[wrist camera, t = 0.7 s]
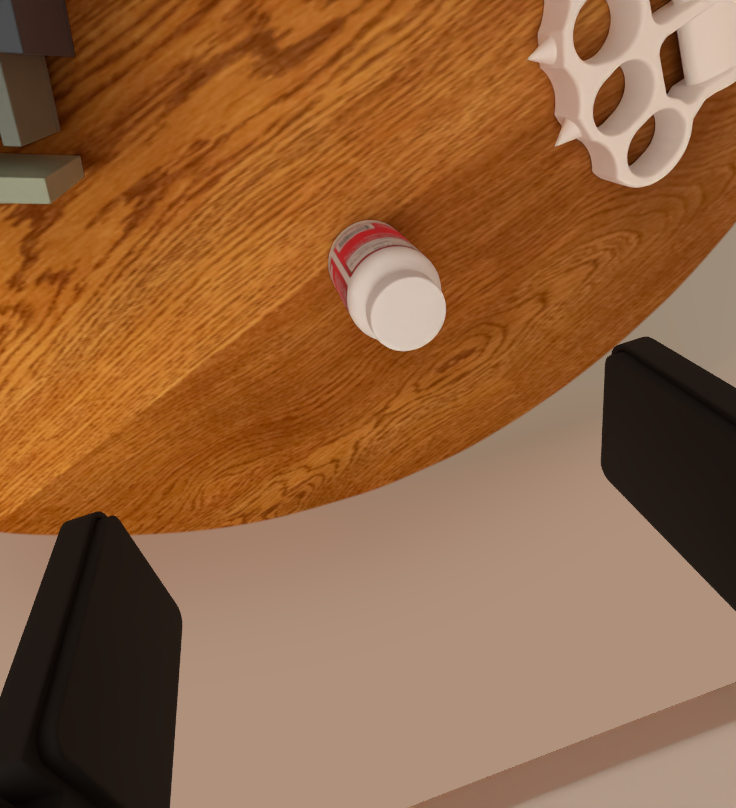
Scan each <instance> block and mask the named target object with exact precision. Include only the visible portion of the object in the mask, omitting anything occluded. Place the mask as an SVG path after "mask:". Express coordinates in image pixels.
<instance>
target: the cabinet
mask: <svg viewBox="0 0 736 808" xmlns="http://www.w3.org/2000/svg"><path fill="white" fill-rule="evenodd" d="M0 53H13V54H28V55H45V56H62V57H75V51H74V46H73V41H72V36H71V30H70V25H69V20H68V15H67V9H66V4H65V0H0Z"/></svg>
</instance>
